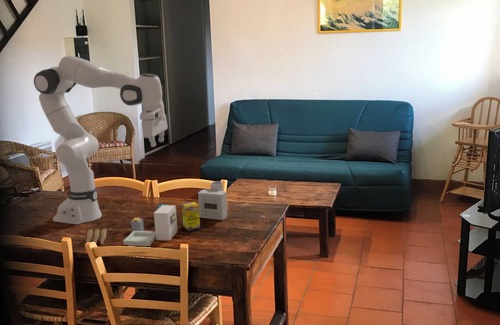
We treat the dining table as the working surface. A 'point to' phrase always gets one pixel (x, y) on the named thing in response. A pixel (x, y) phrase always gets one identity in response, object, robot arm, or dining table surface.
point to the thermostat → (213, 202)
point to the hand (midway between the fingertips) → (157, 144)
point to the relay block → (137, 224)
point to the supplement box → (191, 216)
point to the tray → (140, 238)
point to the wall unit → (165, 222)
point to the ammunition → (96, 235)
